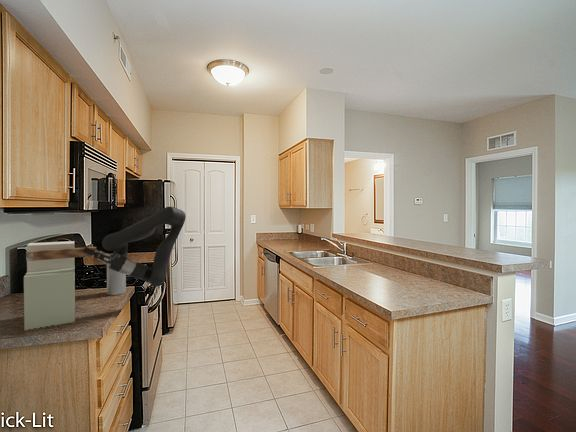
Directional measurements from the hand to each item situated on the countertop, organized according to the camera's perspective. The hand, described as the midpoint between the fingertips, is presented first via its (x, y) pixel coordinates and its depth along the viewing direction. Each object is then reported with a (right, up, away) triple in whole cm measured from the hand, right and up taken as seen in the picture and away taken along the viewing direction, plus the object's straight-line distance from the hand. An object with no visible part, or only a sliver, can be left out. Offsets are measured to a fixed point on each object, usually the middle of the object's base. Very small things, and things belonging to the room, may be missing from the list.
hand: (84, 248), depth 132 cm
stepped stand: (-13, -30, -2) cm, 32 cm away
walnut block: (-6, -3, -4) cm, 8 cm away
